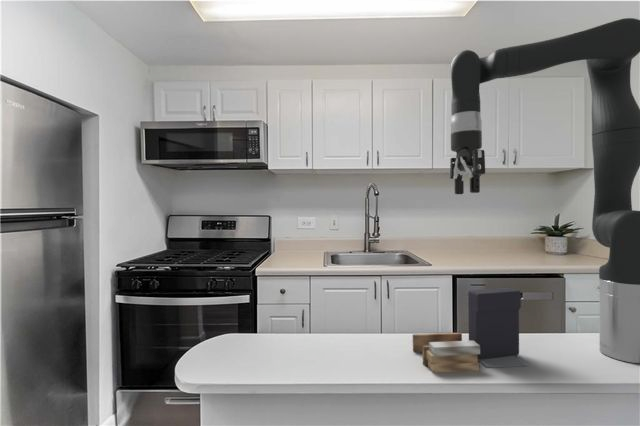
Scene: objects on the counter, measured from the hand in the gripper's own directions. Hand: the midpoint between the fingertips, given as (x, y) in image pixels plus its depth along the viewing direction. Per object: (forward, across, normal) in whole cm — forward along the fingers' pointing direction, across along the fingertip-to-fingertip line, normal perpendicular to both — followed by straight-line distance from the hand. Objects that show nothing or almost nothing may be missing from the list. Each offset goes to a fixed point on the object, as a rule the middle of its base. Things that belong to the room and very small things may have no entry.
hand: (466, 193), depth 90 cm
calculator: (+38, -12, 0) cm, 40 cm away
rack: (+38, -11, +11) cm, 41 cm away
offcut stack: (+38, -17, +12) cm, 43 cm away
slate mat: (+38, -11, 0) cm, 40 cm away
